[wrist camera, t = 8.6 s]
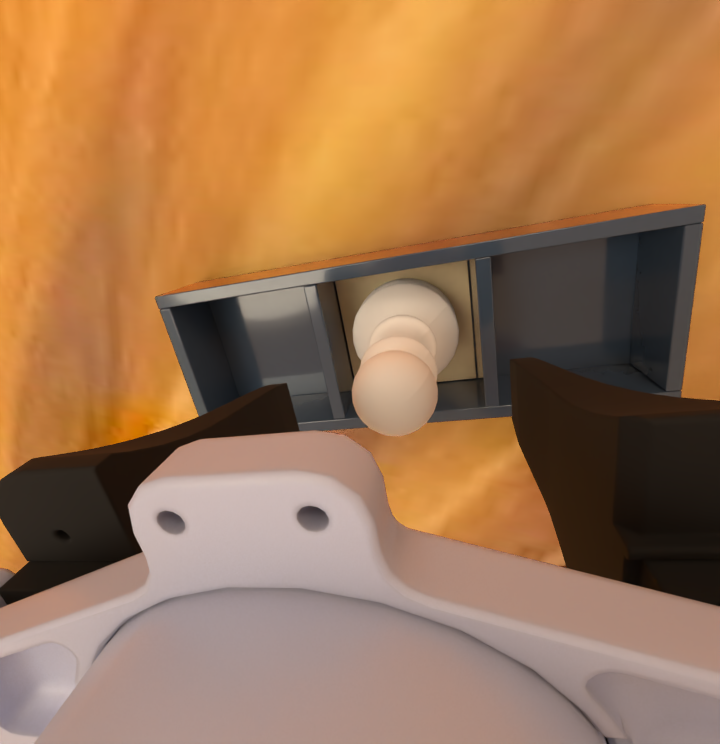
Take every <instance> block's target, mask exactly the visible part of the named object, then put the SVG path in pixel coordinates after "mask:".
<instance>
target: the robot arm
mask: <svg viewBox="0 0 720 744" xmlns="http://www.w3.org/2000/svg"><path fill="white" fill-rule="evenodd" d="M510 381H511V404H512V420H513V424H514V428H515V431H516V435H517V439H518V442H519V445H520V447H521V450H522V452H523V454H524V456H525V459H526V461H527V463H528V465H529V467H530V470H531V472H532V474H533V476H534V478H535V480H536V483H537V485H538V487H539V489H540V491H541V493H542V496H543V498H544V500H545V502H546V505H547V507H548V510H549V513H550V515H551V518H552V522H553V525H554V528H555V531H556V534H557V537H558V540H559V544H560V547H561V550H562V553H563V557H564V560H565V563H566V567H567V568H565V567H561V566H557V565H553V564H549V563H545V562H541V561H537V560H533V559H529V558H525V557H521V556H517V555H513V554H509V553H505V552H501V551H497V550H493V549H489V548H485V547H481V546H477V545H473V544H469V543H465V542H461V541H457V540H453V539H449V538H445V537H441V536H437V535H433V534H429V533H425V532H421V531H417V530H413V529H410V528H407V527H405V526H404V525H402V524H400V523H399V522H398V521H397V520H396V519H395V518H394V516H393V515H392V512H391V510H390V507H389V504H388V500H387V494H386V489H385V484H384V479H383V475H382V473H381V471H380V469H379V468H378V466H377V464H376V462H375V460H374V458H373V456H372V454H371V452H369V451H368V450H367V449H365V448H364V447H362V446H361V445H359V444H358V443H356V442H355V441H353V440H352V439H350V438H349V437H348V436H346V435H342V434H335V433H329V432H323V431H316V430H313V431H300V430H299V426H298V423H297V419H296V415H295V412H294V408H293V404H292V400H291V397H290V393H289V389H288V385H287V383H281V384H272V385H267V386H264V387H261V388H258V389H256V390H254V391H252V392H249V393H247V394H245V395H243V396H241V397H239V398H237V399H235V400H233V401H231V402H229V403H227V404H225V405H223V406H221V407H219V408H216V409H214V410H212V411H210V412H208V413H206V414H203V415H201V416H199V417H197V418H195V419H192V420H190V421H187V422H185V423H182V424H179V425H177V426H174V427H171V428H169V429H166V430H163V431H160V432H156V433H153V434H150V435H146V436H143V437H140V438H136V439H133V440H129V441H125V442H121V443H117V444H113V445H108V446H104V447H99V448H94V449H89V450H84V451H78V452H72V453H65V454H59V455H53V456H46V457H39V458H34V459H31V460H29V461H28V462H26V463H25V464H23V465H22V466H20V467H19V468H17V469H16V470H14V471H13V472H11V473H10V474H8V475H7V476H5V477H4V478H2V479H1V480H0V518H1V520H2V522H3V524H4V525H5V527H6V529H7V530H8V532H9V533H10V535H11V536H12V538H13V540H14V541H15V543H16V544H17V546H18V547H19V549H20V550H21V552H22V554H23V555H24V557H25V558H26V560H27V561H30V562H28V563H27V564H26V565H25V566H24V567H23V568H22V569H21V570H19V571H18V572H17V573H16V574H15V573H13V572H12V571H10V570H8V569H4V568H0V744H720V401H716V400H701V399H690V398H680V397H672V396H665V395H658V394H651V393H645V392H640V391H634V390H630V389H626V388H621V387H617V386H613V385H609V384H605V383H602V382H599V381H596V380H593V379H590V378H586V377H583V376H581V375H578V374H575V373H573V372H570V371H567V370H565V369H562V368H560V367H557V366H555V365H553V364H550V363H548V362H545V361H543V360H540V359H537V358H533V357H528V358H518V359H510Z"/></svg>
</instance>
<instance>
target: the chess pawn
mask: <svg viewBox="0 0 720 744" xmlns="http://www.w3.org/2000/svg"><path fill="white" fill-rule="evenodd" d="M352 332H353V344H354V347H355V350H356V353H357V355H358V357H359V358H360V360H361V364H360V369H359V370H358V372H357V374H356V376H355V378H354V382H353V386H352V401H353V405H354V408H355V410H356V413H357V415H358V416H359V417H360V419H361V420H362V422H363V423H364V424H366V425H367V426H368V427H369V428H370V429H372V430H374V431H376V432H378V433H380V434H384V435H387V436H402V435H407V434H410V433H412V432H414V431H417V430H418V429H420V428H421V427H422V426H423V425H424V424H426V423H427V421H428V420H429V419H430V417H431V416H432V414H433V413H434V410H435V407H436V404H437V400H438V387H437V383H436V381H437V375H438V374H439V373H440V372H441V371H442V370H443V369H445V368H446V367H447V365H448V364H449V362H450V361H451V359H452V358H453V356H454V354H455V351H456V348H457V345H458V341H459V327H458V323H457V319H456V315H455V311H454V308H453V306H452V305H451V303H450V301H449V299H448V298H447V297H446V296H445V295H444V294H443V293H442V292H441V291H440V290H439V289H438V288H437V287H435V286H433V285H431V284H429V283H428V282H426V281H422V280H418V279H414V278H402V279H396V280H392V281H389V282H386V283H384V284H382V285H381V286H379V287H378V288H376V289H374V290H373V291H372V292H371V294H370V295H369V296H368V297H367V298H366V299H365V300H364V302H363V304H362V305H361V306H360V308H359V310H358V312H357V314H356V316H355V320H354V325H353V329H352Z"/></svg>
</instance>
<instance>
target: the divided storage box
mask: <svg viewBox="0 0 720 744" xmlns="http://www.w3.org/2000/svg"><path fill="white" fill-rule="evenodd" d="M705 208H706V205H705V204H648V205H642V206H636V207H630V208H625V209H619V210H613V211H607V212H601V213H596V214H590V215H584V216H578V217H572V218H567V219H561V220H555V221H549V222H543V223H538V224H532V225H526V226H520V227H515V228H509V229H503V230H497V231H491V232H486V233H480V234H474V235H468V236H462V237H457V238H451V239H445V240H439V241H433V242H428V243H422V244H416V245H410V246H404V247H399V248H393V249H387V250H381V251H376V252H370V253H364V254H358V255H352V256H347V257H341V258H335V259H329V260H323V261H318V262H312V263H306V264H300V265H294V266H289V267H283V268H277V269H271V270H265V271H260V272H254V273H248V274H242V275H237V276H231V277H225V278H219V279H213V280H208V281H202V282H197V283H194V284H191V285H188V286H185V287H182V288H179V289H176V290H173V291H170V292H167V293H164V294H161V295H159V296H156V297H155V300H156V302H157V305H158V308H159V309H160V313H161V315H162V318H163V321H164V323H165V326H166V329H167V332H168V334H169V337H170V340H171V342H172V345H173V348H174V350H175V353H176V356H177V359H178V361H179V364H180V367H181V369H182V372H183V375H184V377H185V380H186V383H187V386H188V388H189V391H190V394H191V396H192V399H193V402H194V404H195V407H196V410H197V413H198V415H199V416H201V415H203V414H206V413H208V412H210V411H212V410H214V409H216V408H219V407H221V406H223V405H225V404H227V403H229V402H231V401H233V400H235V399H237V398H239V397H241V396H243V395H245V394H247V393H249V392H252V391H254V390H256V389H258V388H261V387H264V386H267V385H272V384H281V383H287V385H288V389H289V393H290V397H291V400H292V404H293V408H294V412H295V415H296V419H297V423H298V426H299V430H300V431H313V430H316V431H328V430H341V429H354V428H367V427H368V426H367V425H366V424H364V423H363V422H362V420H361V419H360V417H359V416H358V415H357V413H356V410H355V408H354V405H353V401H352V386H353V382H354V378H355V376H356V374H357V372H358V370H359V369H360V364H361V360H360V358H359V357H358V355H357V353H356V350H355V347H354V344H353V332H352V329H353V325H354V320H355V316H356V314H357V312H358V310H359V308H360V306H361V305H362V304H363V302H364V300H365V299H366V298H367V297H368V296H369V295H370V294H371V292H372V291H373V290H374V289H376V288H378V287H379V286H381V285H382V284H384V283H386V282H389V281H392V280H396V279H402V278H414V279H418V280H422V281H426V282H428V283H429V284H431V285H433V286H435V287H437V288H438V289H439V290H440V291H441V292H442V293H443V294H444V295H445V296H446V297H447V298H448V299H449V301H450V303H451V305H452V306H453V308H454V311H455V315H456V319H457V323H458V327H459V341H458V345H457V348H456V351H455V354H454V356H453V358H452V359H451V361H450V362H449V364H448V365H447V367H446V368H445V369H443V370H442V371H441V372H440V373H439V374H438V375H437V381H436V383H437V387H438V400H437V404H436V407H435V410H434V413H433V414H432V416H431V417H430V419H429V420H428V421H427V423H432V422H445V421H458V420H471V419H484V418H497V417H510V416H512V404H511V381H510V359H518V358H528V357H533V358H537V359H540V360H543V361H545V362H548V363H550V364H553V365H555V366H557V367H560V368H562V369H565V370H567V371H570V372H573V373H575V374H578V375H581V376H583V377H586V378H590V379H593V380H596V381H599V382H602V383H605V384H609V385H613V386H617V387H621V388H626V389H630V390H634V391H640V392H645V393H651V394H658V395H665V396H672V397H680V398H681V393H682V392H681V390H682V384H683V376H684V369H685V361H686V353H687V345H688V338H689V330H690V322H691V315H692V307H693V299H694V291H695V284H696V276H697V268H698V260H699V253H700V245H701V237H702V230H703V223H702V222H703V221H704V216H705Z"/></svg>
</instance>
